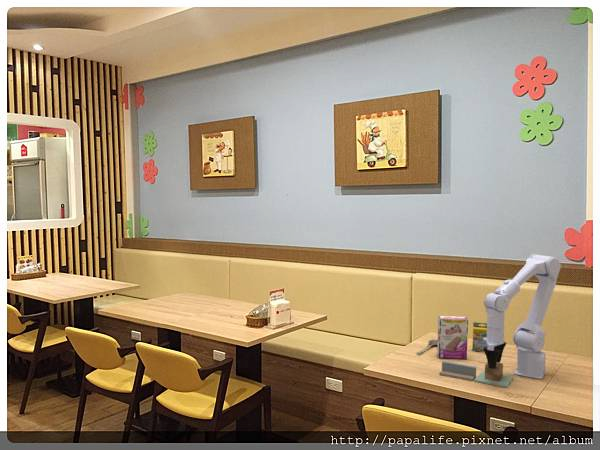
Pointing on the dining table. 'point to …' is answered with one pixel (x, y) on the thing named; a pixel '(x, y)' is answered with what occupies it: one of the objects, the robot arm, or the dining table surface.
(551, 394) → the dining table surface
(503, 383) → the mat
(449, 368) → the grey long block
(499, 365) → the lettered cube
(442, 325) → the candy bar box
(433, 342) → the soupspoon
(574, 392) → the dining table surface
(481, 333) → the crayon box
